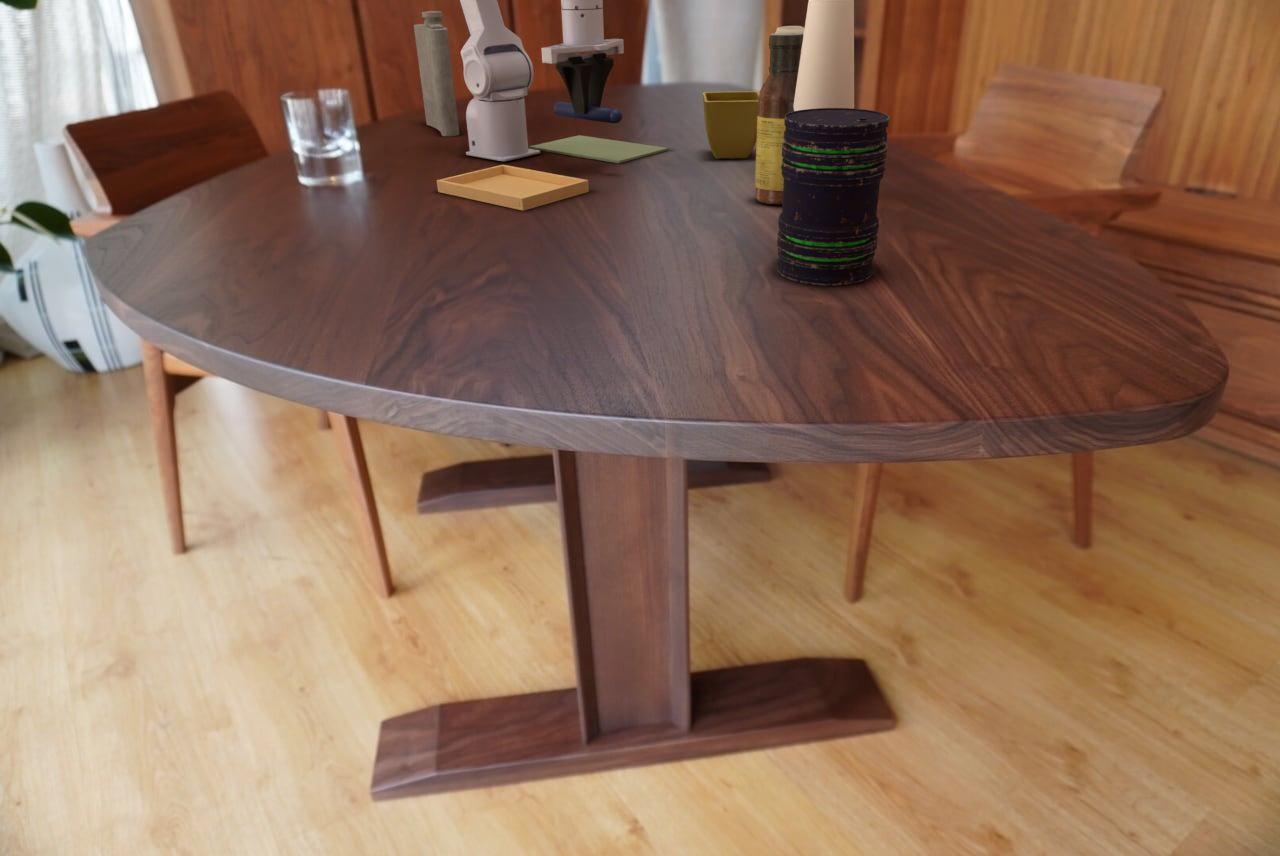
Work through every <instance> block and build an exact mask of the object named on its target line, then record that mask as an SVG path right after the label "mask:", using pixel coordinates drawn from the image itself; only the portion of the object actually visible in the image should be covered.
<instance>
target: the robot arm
mask: <svg viewBox="0 0 1280 856" xmlns="http://www.w3.org/2000/svg"><path fill="white" fill-rule="evenodd" d="M459 2H460V5H461V8H462V12H463V15H464V19H465V22H466V25H467V28H468V31H469V35H470V36H469V37H468V39H467V40H466V42H465V43H464V44H463V47H462V48H461V50H460V56H461V60H462V64H463V79H464V82H465V85H466V87H467V89H468V91H469V92H470V93H471V95H472V96H473V98H472V99H471V100H470V101H469V102H468V104H467V107H466V111H465V120H466V129H467V138H468V148H469V150H468V151H466V152H465V155H466V156H469V157H470V156H471V157H475V158H481V159H487V160H492V161H498V162H503V163H504V162H509V161H513V160H518V159H522V158H526V157H527V158H528V157H531V156H535V155H540V154H541V151H540V150H534V149H529V141H528V128H527V127H528V126H527V115H526V103H525V96H528V93H529V92H528V90H529V89H530V88H531V86H532V85H533V81H534V76H535V74H534V73H535V71H534V66H533V62H532V60H531V58H530V56H529V54H528V53H527V52H526V50H525V48H524V45H523V43H522V39H521V37H519V36H518V35H517V34H516V33H514V32H513V31H511V30H510V29H509V28H507V26H505V22H504V20H503V19H504V18H503V16H502V12H501V9H500V6H499V3H498V0H459ZM560 7H561V9H560V11H561V26H562V27H561V29H562V43H559V44H554V45H550V46H545V47H541V48H540V51H541V63H542V64H551V65H554V64H555V69H556V70H557V72H558V73H559V75H560V77H561V79H562V80H563V83H564V85H565V88H566V89H567V93H568V95H569V96H568V97H569V98H570V103H572V106H573V109H574V113H577V114H587V112H588V107H589V105H591V106H599V107H601V105H602V100H603V94H604V92H605V91H604V90H605V86H606V83H607V80H608V78H609V75H610V73H611V72H612V69H613V67H614V65H615V62H614V57H610V55H611V56H612V55H623V54H625V50H624V49H625V46H624V44H625V43H624V39H622V38H608V39H605V33H604V32H605V31H604V30H605V29H604V27H605V26H604V1H603V0H560ZM608 56H609V57H608Z"/></svg>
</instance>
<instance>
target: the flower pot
mask: <svg viewBox="0 0 1280 856" xmlns="http://www.w3.org/2000/svg"><path fill="white" fill-rule="evenodd" d="M759 94H760V91H753V90H751V91H749V90H748V91H746V90H745V91H705V92H703V93H702V104H703V116H704V117H703V119H704V127H705V132H706V136H707V141H708V145H709V148H710V151H711V153H712V155H713V157H714V158H715V159H718V160H722V159H748V158H749V157H750V155H751V153H752V152H753V150H754V148H755V147H756V142H757V116H758V113H759Z"/></svg>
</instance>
